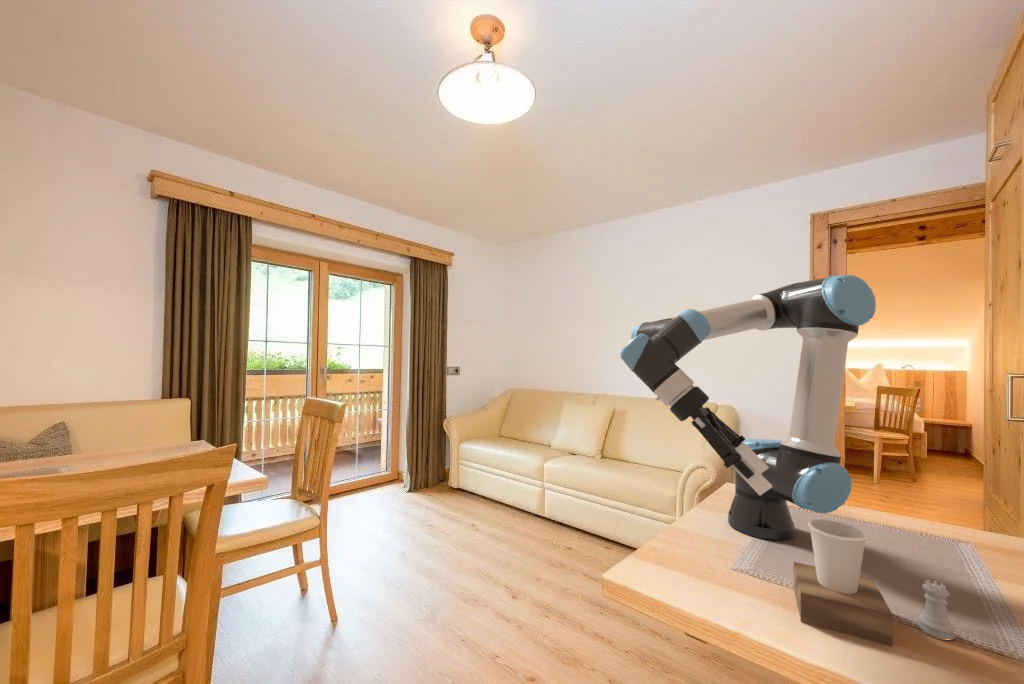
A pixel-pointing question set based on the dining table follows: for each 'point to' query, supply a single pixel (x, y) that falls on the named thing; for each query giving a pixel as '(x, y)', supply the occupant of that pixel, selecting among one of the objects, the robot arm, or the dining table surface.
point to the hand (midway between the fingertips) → (764, 480)
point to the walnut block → (843, 607)
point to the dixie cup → (837, 554)
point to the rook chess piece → (936, 612)
